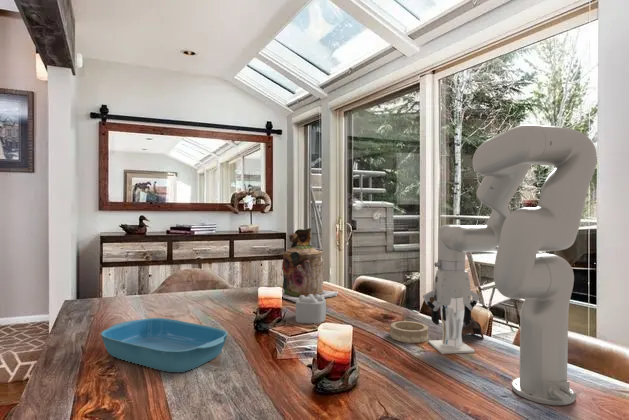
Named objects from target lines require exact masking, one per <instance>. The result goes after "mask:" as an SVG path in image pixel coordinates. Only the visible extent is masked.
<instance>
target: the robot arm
mask: <svg viewBox="0 0 629 420" xmlns="http://www.w3.org/2000/svg"><path fill="white" fill-rule="evenodd" d="M597 156H598V155H597V149H596V147H595V144H594V142H593V141H592V139H591V138H589V136H588V135H586V134H585V133H584V132H581V131H579V130H576V129H573V128H570V127H561V126H553V125H550V126H549V125H539V124H537V125H536V124H521V125H518V126H515V127H512V128H510V129H508V130H506V131H504V132H502V133H499V134H497V135H495V136H493V137H491V138H489V139H487V140H485V141H484V142H482V143H481V144H480V145H479V146H478V147H477V148H476V149H475V152H474V153H473V157H472V167H473V169H474V170H473V171H475V173H477V174H478V175H480V176H483V178H482V180H481V182H480V184H479V186H478V188H477V189H476V197H477V199H478V200H479V201H480V202H481V203H482V204H483V205H485V206H486V207H488V208H490V209H491V213H490V216H489V218H488V219H487V221H486V223H485V224H484V225H483V224H478V225H477V224H476V225H475V224H473V225H471V224H469V225H466V224H465V225H460V224H444V225H443V224H442V225H441V226H440V227H439V230H438V231H439V232H438V260H437V262H436V261H435V262H434V268H437V269H436V271H435V275H434V282H433V283H434V284H433V289H432V290H431V291H429V292H426V293H425V294H423V295H422V298H423V300H424V302H425V304H426V306H427V307H429V309H430V310H431V311H430V312H431V317H430V318H431V321H432V324H434V325H436V326H437V325H440V311H439V309H440V308H441V305H445V306H448V305H450V303H451V298H461V297H463V304H464V305H465V317H464V322H465V323H467V324H470V320H471V316H472V311H473V310H474V307H475V306H476V305H477V303H478V302H479V299H480V295H479V294H478V293H476V292H474V291H472V290H471V282H470V281H471V280H470V277H469V276H470V275H469V271H467V270H466V253H475V252H478V253H479V252H491V251H493V250H495V249H496V248H497V249H496V250H497V251H496V255H495V261H494V265H493V266H494V267H493V282H494V283H493V284H494V285H495V287H496V290H497V291H498V292H499V293H500V294H501V296H503V297H505V298H508V299H514V300H520V299H521V300H522V299H524V301H523V303H522V306H521V310H520V320H519V321H520V323H519V326H520V327H519V377H517V378H515V379H514V380H513V381H512V382H511V388H512V390H513V392H514V393H516V394H517V395H518V396H519V397H522V398H524V399H526V400H529V401H531V402H535V403H539V404H542V405H548V406H549V405H550V406H567V405H570V404H573V403H574V402H575V401H576V398H577V394H576V393H575V392H574V390H572V389H571V386H570V383H571V382H570V381H569V380H568V349H569V348H568V347H569V346H568V344H569V343H568V341H569V335H568V334H569V311H570V301H571V297H572V293H573V289H574V282H575V275H574V270H573V267H572V265H571V264H570V262H568V260H566V259H565V258H563V256H562V257H561V256H560V255H556V254H551V253H538V252H555V251H562V250H567V249H568V248H570V247H572V246H573V245H574V243H575V241H576V239H577V236H578V233H579V229H580V224H581V221H582V216H583V212H584V208H585V205H586V197H587V194H588V191H589V187H590V184H591V182H592V180H593V179H592V178H593V176H594V173H595V171H596V166H597V160H598V159H597V158H598V157H597ZM533 165H536V166H552V167H554V169H553V170H552V172H551V173H550V174H549V175H548V176H547V178H546V179H545V181H544V183H543V184H542V187H541V191H540V197H539V200H538V203H537V206H536V207H532V206H531V207H519V208H518V209H515V210H514V211H510V208H509V204H510V203H511V200H512V199H513V198H514V195H515V194H516V192H517V191H518V190H519V189H518V188H519V187H520V185H521V184H522V182H523V181H524V179H525V177H526V176H527V174H528V172H529V170H531V169H530V168H531V167H532V166H533ZM431 298H433V302H431V300H430V299H431Z"/></svg>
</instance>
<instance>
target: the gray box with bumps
mask: <svg viewBox="0 0 629 420" xmlns="http://www.w3.org/2000/svg"><path fill="white" fill-rule="evenodd" d="M326 301H327V300H326V299H325V298H324V297H322V296H321V297H320V295H319V294H317V295H315V296H314V295H313V294H309V295H308V296H307V297H305V296H304V295H301V296H299V299H298V300H297V301H296V302H295V322H296V323H299V322H300V324H310V323H314V324H313V325H316V323H318V324H321V322H322V323H323V322H325V321H326V318H327V316H326V315H327V312H326V311H327V304H326V303H327V302H326Z"/></svg>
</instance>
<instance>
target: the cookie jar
mask: <svg viewBox="0 0 629 420" xmlns="http://www.w3.org/2000/svg"><path fill="white" fill-rule="evenodd" d="M311 232H312V228H311V227H308V228H307V229H304V228H303V229H302V228H298V229H296V230H295V232H294V233H290V234H289V235H288V237H289V242H291V243H292V244H291V245H290V248H287V250H286V251H284V253H283V254H282V262H281V263H282V264H281V265H282V266H281V267H282V268H281V270H282V274H283V275H282V277H283V281H282V288H283V290H281V291H282V292H283V298H282V299H285V300H288V301H290V302H293V303H296V301H297V300H298V299H299V296H301V295H304V296H305V297H307V296H308V295H309V294H313V295H314V296H315V295H317V294H319V295H320V297H321V296H322V297H324V298H332V297H337V296H338V293H339V291H335V290H334V291H332V290H324V289H323V284H324V274H323V273H324V271H323V270H324V269H323V264H322V256H323V251H322V250H319V249H316V248H315V247H313V246H312V245H311V244H310V242H311V239H312V236H311V235H312V233H311Z"/></svg>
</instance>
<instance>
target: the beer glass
mask: <svg viewBox="0 0 629 420" xmlns="http://www.w3.org/2000/svg"><path fill="white" fill-rule="evenodd" d="M440 317H441V324H442V339H441V340H442V345H443V346H444V347H447V348H453V349H458V348H462V347H463V343H464V342H463V335H462V328H463V323H464V317H465V305H464V304H463V297H461V298H451V303H450V305H448V306H445V305H441V306H440ZM462 342H463V343H462Z"/></svg>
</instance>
